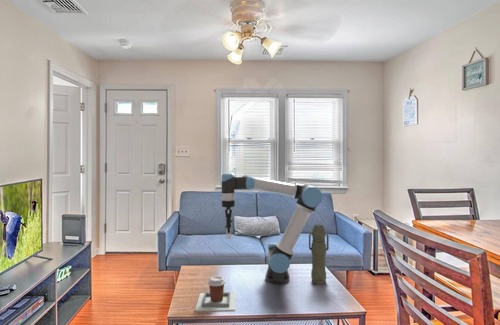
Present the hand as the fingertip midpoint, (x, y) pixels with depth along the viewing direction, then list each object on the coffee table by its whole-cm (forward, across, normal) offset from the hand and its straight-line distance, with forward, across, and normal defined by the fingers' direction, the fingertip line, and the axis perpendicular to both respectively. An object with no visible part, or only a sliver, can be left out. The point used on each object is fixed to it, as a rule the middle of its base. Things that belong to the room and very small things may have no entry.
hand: (228, 236), depth 186 cm
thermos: (+32, -5, +55) cm, 63 cm away
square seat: (+31, +18, -7) cm, 36 cm away
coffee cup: (+30, +18, -7) cm, 36 cm away
